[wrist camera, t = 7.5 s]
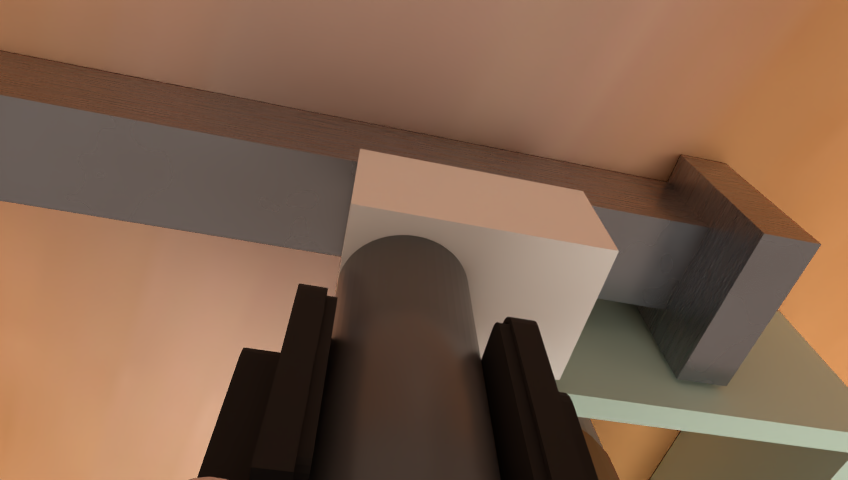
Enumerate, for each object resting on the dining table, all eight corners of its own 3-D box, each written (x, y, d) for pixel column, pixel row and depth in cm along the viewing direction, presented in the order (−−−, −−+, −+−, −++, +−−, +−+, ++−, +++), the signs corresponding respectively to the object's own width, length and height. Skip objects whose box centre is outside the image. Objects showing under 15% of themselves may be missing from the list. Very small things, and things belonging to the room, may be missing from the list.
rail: (-237, -34, 15) (-493, -4, 11) (725, 163, 19) (821, 244, 15) (-178, 144, 17) (-366, 226, 13) (661, 286, 21) (726, 386, 17)
